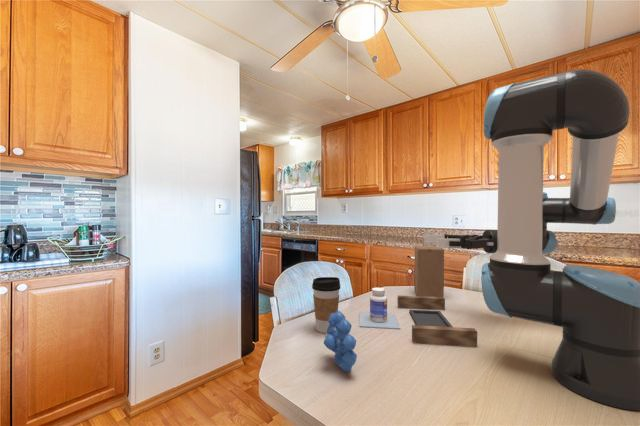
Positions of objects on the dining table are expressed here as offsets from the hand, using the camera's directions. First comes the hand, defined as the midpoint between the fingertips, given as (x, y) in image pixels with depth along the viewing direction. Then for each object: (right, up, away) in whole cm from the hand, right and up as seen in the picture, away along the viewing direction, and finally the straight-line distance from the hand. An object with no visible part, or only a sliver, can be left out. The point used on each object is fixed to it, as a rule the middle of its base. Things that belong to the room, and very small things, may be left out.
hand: (430, 240), depth 94 cm
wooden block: (+9, -25, +24) cm, 36 cm away
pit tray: (-2, -25, -4) cm, 26 cm away
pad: (-17, -25, -2) cm, 31 cm away
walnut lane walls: (-2, -25, -4) cm, 26 cm away
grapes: (-32, -26, -29) cm, 50 cm away
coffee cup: (-34, -26, -9) cm, 44 cm away
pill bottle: (-17, -25, -2) cm, 31 cm away
